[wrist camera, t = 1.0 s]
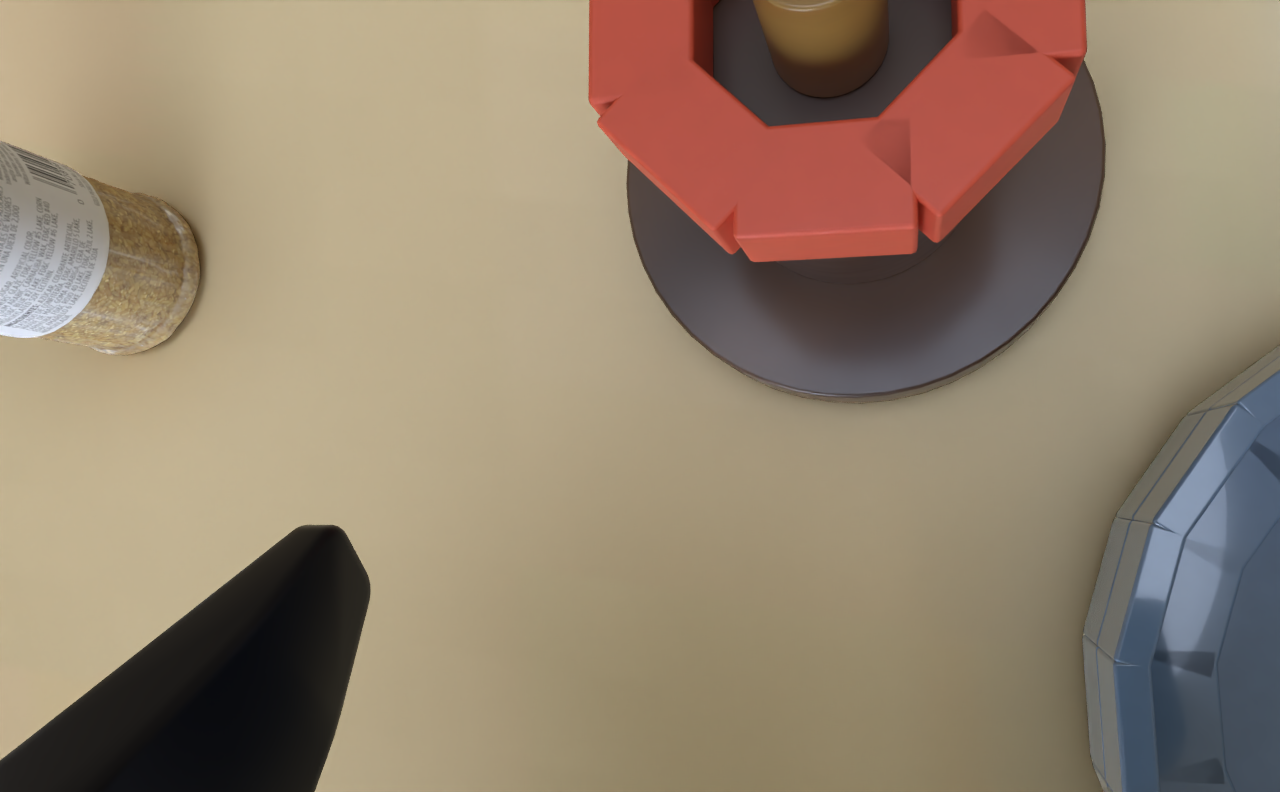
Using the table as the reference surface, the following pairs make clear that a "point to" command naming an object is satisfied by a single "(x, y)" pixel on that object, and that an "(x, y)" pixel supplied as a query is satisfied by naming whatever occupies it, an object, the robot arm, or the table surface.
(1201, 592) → the dish
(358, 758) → the table surface
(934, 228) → the ring
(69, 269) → the sprinkles bottle
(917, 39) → the ring stand
